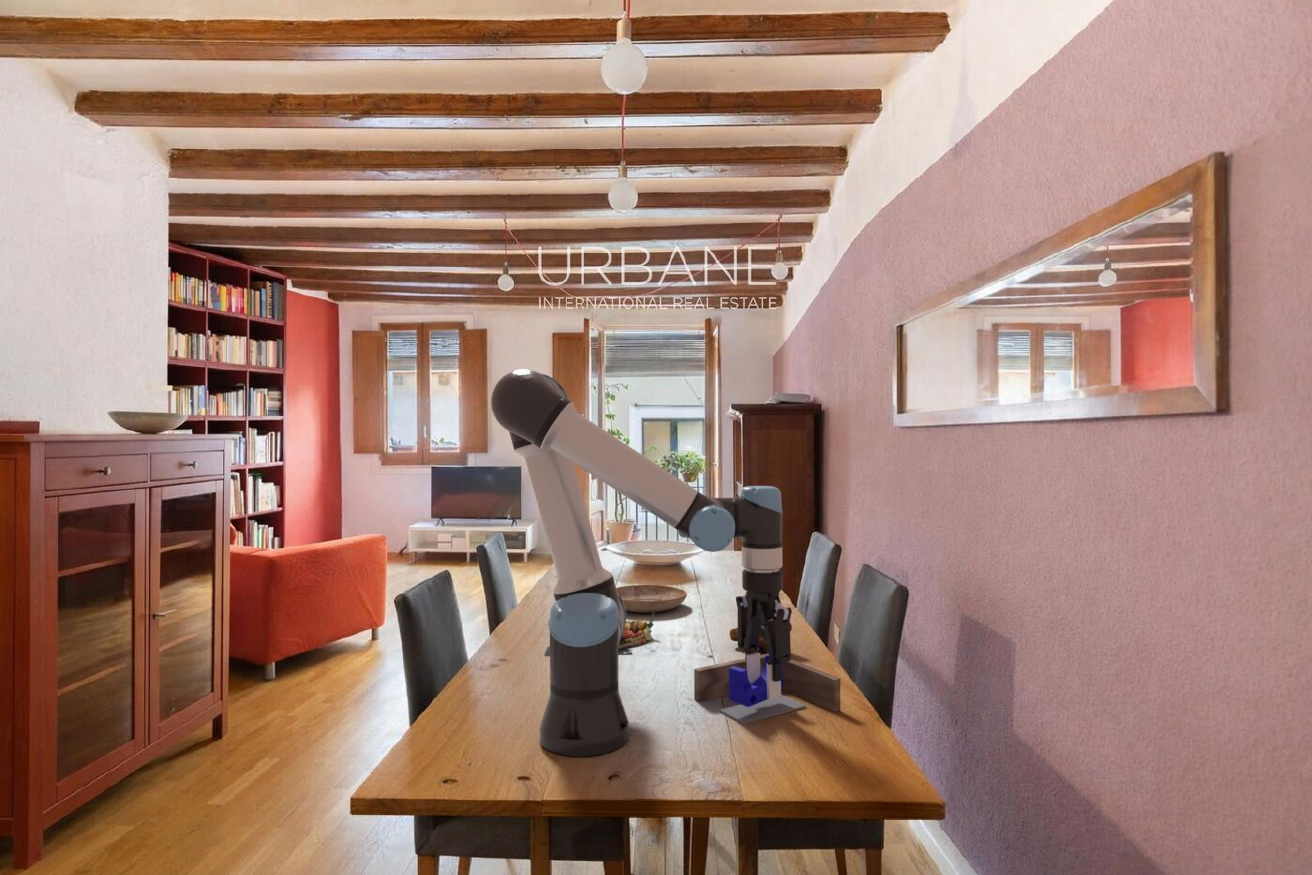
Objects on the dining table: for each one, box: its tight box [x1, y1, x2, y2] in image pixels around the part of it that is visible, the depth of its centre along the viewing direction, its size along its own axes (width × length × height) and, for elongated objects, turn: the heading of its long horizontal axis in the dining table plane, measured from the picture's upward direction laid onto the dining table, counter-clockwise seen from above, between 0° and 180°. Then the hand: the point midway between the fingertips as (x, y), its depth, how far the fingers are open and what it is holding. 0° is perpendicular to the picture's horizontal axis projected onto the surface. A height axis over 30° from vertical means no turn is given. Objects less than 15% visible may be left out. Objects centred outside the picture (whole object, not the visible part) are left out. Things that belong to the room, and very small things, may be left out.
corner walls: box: [693, 653, 841, 713], centre depth 141 cm, size 20×19×6 cm
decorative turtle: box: [729, 619, 793, 654], centre depth 176 cm, size 10×15×8 cm, turn 73°
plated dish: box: [544, 612, 655, 657], centre depth 183 cm, size 35×28×7 cm
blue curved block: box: [729, 653, 783, 707], centre depth 138 cm, size 12×4×6 cm, turn 133°
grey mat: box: [718, 694, 806, 725], centre depth 138 cm, size 15×7×1 cm, turn 121°
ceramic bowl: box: [616, 584, 688, 614], centre depth 218 cm, size 23×24×5 cm
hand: (763, 692), depth 138 cm, fingers closed on blue curved block, 5 cm apart
